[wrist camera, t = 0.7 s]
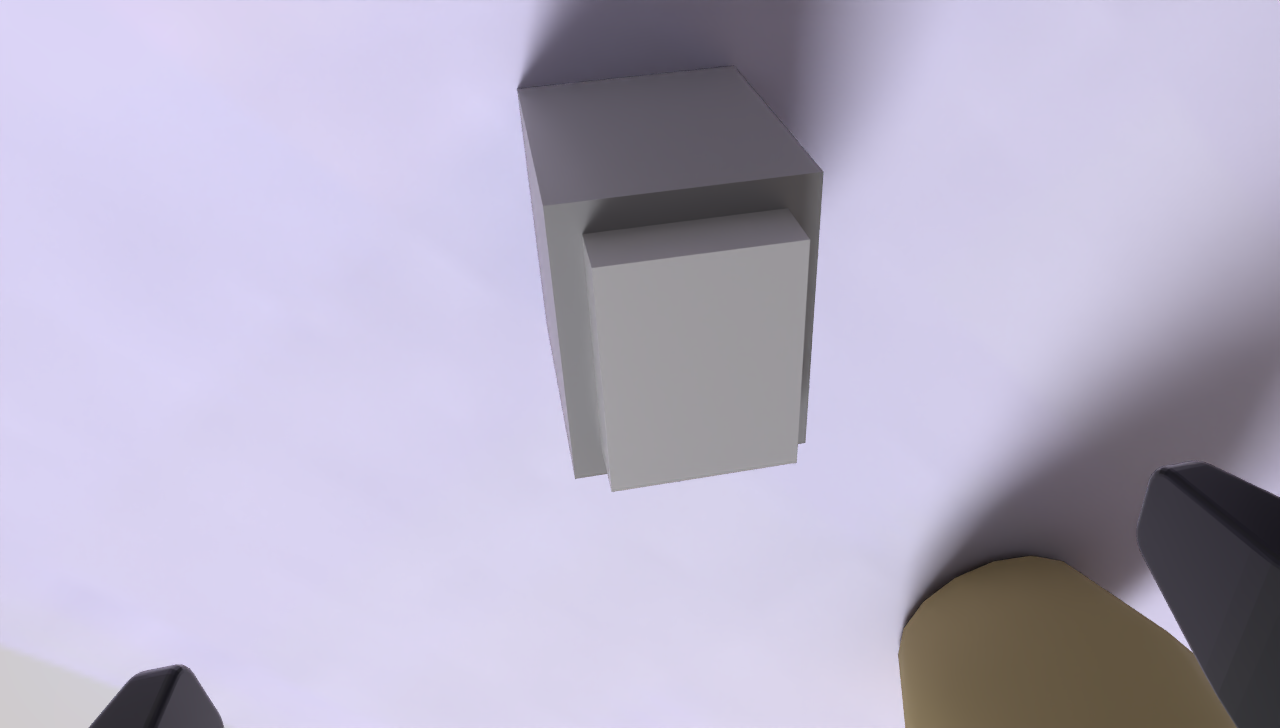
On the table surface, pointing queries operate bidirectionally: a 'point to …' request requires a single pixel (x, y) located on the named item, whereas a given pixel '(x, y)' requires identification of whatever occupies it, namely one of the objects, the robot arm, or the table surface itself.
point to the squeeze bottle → (1046, 657)
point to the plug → (674, 272)
